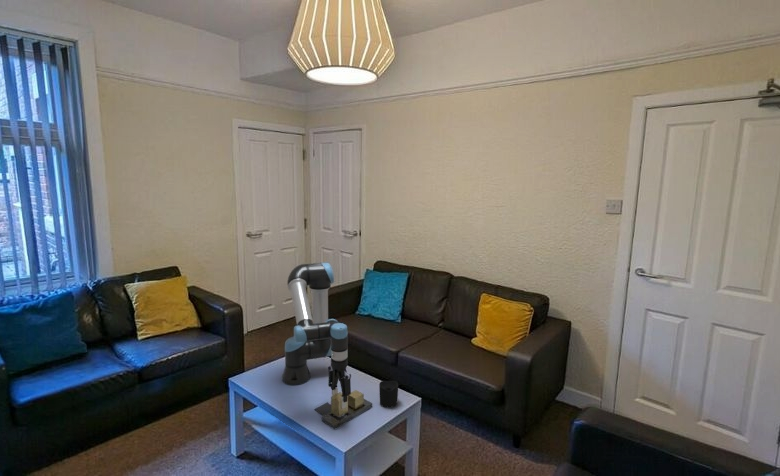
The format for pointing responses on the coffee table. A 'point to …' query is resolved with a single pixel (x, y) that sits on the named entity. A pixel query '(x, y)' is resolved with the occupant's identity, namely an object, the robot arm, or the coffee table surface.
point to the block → (355, 400)
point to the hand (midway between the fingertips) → (339, 404)
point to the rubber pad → (323, 409)
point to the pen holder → (388, 393)
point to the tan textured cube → (338, 405)
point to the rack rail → (350, 415)
